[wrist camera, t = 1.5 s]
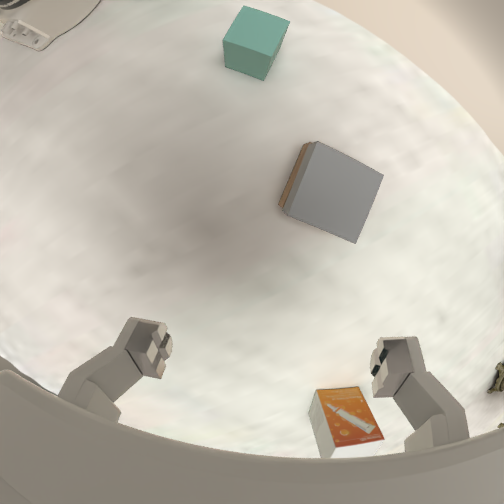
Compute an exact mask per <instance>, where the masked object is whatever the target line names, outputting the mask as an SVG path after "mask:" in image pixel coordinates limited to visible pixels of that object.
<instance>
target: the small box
mask: <svg viewBox="0 0 504 504" xmlns="http://www.w3.org/2000/svg"><path fill="white" fill-rule="evenodd" d="M309 417H310V421H311V424H312V428H313V431H314V435H315V438H316V442H317V445H318V449H319V453H320V456H321V458H353V457H368V456H374V455H375V454H376V452H377V451H378V449H379V448H380V446H381V445H382V443H383V441H384V440H385V439H384V437H383V435H382V433H381V431H380V429H379V427H378V425H377V423H376V421H375V418H374V416H373V414H372V413H371V410H370V408H369V406H368V404H367V402H366V400H365V399H364V397H363V395H362V393H361V391H360V389H359V387H354V388H343V389H328V390H316V392H315V395H314V399H313V402H312V405H311V408H310V411H309Z"/></svg>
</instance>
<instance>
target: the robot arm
mask: <svg viewBox="0 0 504 504" xmlns="http://www.w3.org/2000/svg"><path fill="white" fill-rule="evenodd" d="M99 1H100V0H0V22H2V23H4V24H5V25H4V26H3V28H2V30H1V31H2V37H4V38H6V39H8V40H11V41H14V42H17V43H19V44H22V45H25V46H27V47H30V48H32V49H35V50H37V51H41V50H43V49H44V48H45V47H46V46H48V45H49V44H50V43H51V42H52V41H53V40H54V39H55V38H56V37H58V36H59V35H61V34H63V33H65V32H66V31H68V30H70V29H71V28H73V27H74V26H75V25H77V24H78V23H79V22H81V21H82V20H83V19H84V18H85V17H86V16H87V15H88V14H89V13H90V12H91V11H92V10H93V9H94V8H95V7H96V5H97V4H98V3H99ZM167 329H168V328H167V326H166V324H165V323H162V322H156V321H151V320H145V319H140V318H135V317H131V318H129V319H128V320H127V322H126V324H125V326H124V328H123V329H122V331H121V333H120V335H119V337H118V338H117V340H116V342H115V344H114V346H113V347H112V346H110V347H108V348H107V349H105V350H104V351H102V352H101V353H99V354H98V355H96V356H95V357H93V358H91V359H90V360H88V361H87V362H85V363H84V364H82V365H81V366H79V367H78V368H76V369H75V370H73V371H72V372H70V374H69V376H68V377H67V379H66V381H65V383H64V385H63V387H62V389H61V391H60V392H59V394H58V396H55V395H53V394H51V393H49V392H47V391H45V390H43V389H41V388H40V387H38V386H36V385H34V384H33V383H31V382H29V381H28V380H26V379H24V378H23V377H21V376H19V375H17V374H16V373H14V372H13V371H11V370H3V371H1V372H0V504H504V427H502V428H499V429H496V430H493V431H491V432H488V433H485V434H481V435H478V436H475V437H472V438H470V437H469V431H468V425H467V420H466V415H465V410H464V408H463V407H462V406H461V405H460V403H459V402H458V401H457V400H456V399H455V398H454V397H453V396H452V395H451V394H450V393H449V392H448V390H447V389H446V388H445V387H444V386H443V385H442V384H441V383H440V382H439V381H438V380H437V379H436V378H435V377H434V376H433V375H432V374H431V372H426V368H425V364H424V360H423V356H422V352H421V348H420V344H419V341H418V338H417V337H415V336H414V337H380V338H379V339H378V341H377V348H376V349H375V350H373V353H372V355H371V361H370V370H371V374H372V375H373V376H374V377H375V378H374V380H373V382H372V390H373V398H379V397H393V399H394V400H395V402H396V403H397V405H398V406H399V408H400V409H401V410H402V412H403V413H404V415H405V416H406V418H407V419H408V421H409V422H410V424H411V425H412V427H413V428H414V430H415V432H413V433H412V434H411V435H410V436H409V437H407V438H406V440H405V441H404V444H405V452H403V453H396V454H388V455H379V456H368V457H353V458H290V457H275V456H264V455H255V454H246V453H239V452H232V451H226V450H220V449H214V448H209V447H204V446H199V445H194V444H190V443H185V442H181V441H177V440H173V439H169V438H165V437H162V436H158V435H155V434H151V433H148V432H145V431H141V430H138V429H135V428H132V427H129V426H126V425H123V424H121V423H118V420H119V417H120V414H121V411H120V409H119V408H118V407H117V406H116V405H115V404H114V403H113V402H115V401H116V400H117V399H118V398H119V397H120V396H121V395H123V394H124V393H125V392H126V391H127V390H128V389H129V388H130V387H132V386H133V385H134V384H135V383H136V382H137V381H138V380H140V379H141V378H142V377H143V376H142V375H144V376H148V377H153V378H158V379H161V378H162V375H163V372H164V370H165V367H166V364H165V360H166V359H168V358H169V357H170V355H171V352H172V345H173V344H172V338H171V336H170V335H169V334H168V333H167V332H166V331H167Z"/></svg>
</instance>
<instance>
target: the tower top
mask: <svg viewBox="0 0 504 504" xmlns="http://www.w3.org/2000/svg"><path fill="white" fill-rule="evenodd" d="M383 176H384V175H383V174H381V173H379V172H377V171H376V170H374V169H372V168H370V167H368V166H366V165H365V164H363V163H361V162H359V161H357V160H355V159H353V158H351V157H349V156H347V155H345V154H343V153H341V152H339V151H337V150H335V149H333V148H331V147H329V146H327V145H325V144H323V143H321V142H318V141H316V142H314V143H311V144H309V145H308V148H307V150H306V153H305V155H304V158H303V160H302V163H301V165H300V168H299V170H298V173H297V175H296V178H295V180H294V183H293V185H292V188H291V190H290V193H289V195H288V198H287V200H286V202H285V205H284V207H283V210H282V211H283V212H284V213H285V214H286V215H287V216H290V217H292V218H295V219H297V220H300V221H302V222H305V223H307V224H309V225H312V226H314V227H317V228H319V229H321V230H324V231H326V232H329V233H331V234H333V235H336V236H338V237H340V238H343V239H345V240H347V241H350V242H352V243H354V244H356V242H357V239H358V237H359V235H360V233H361V230H362V228H363V226H364V223H365V221H366V219H367V216H368V214H369V211H370V209H371V207H372V204H373V202H374V199H375V197H376V194H377V192H378V189H379V187H380V184H381V181H382V179H383Z"/></svg>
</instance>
